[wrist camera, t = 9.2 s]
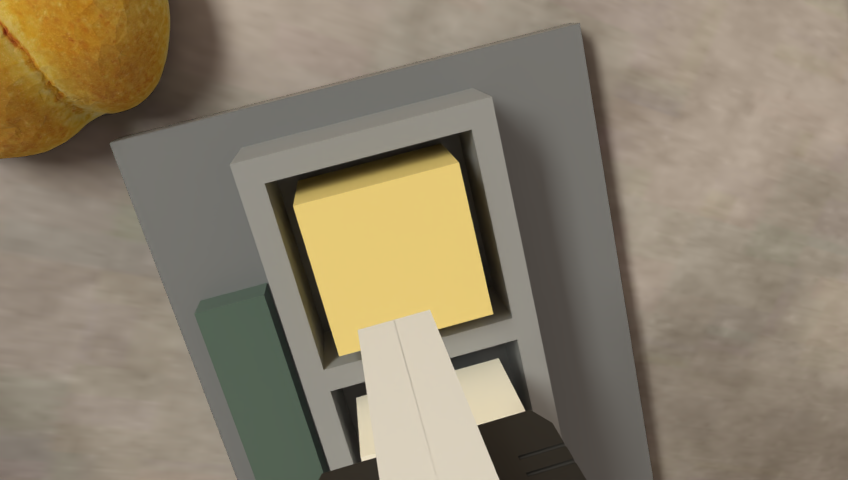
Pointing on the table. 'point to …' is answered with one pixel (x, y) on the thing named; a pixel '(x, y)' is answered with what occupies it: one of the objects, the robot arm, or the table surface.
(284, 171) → the grey compartment tray
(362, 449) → the key ivory
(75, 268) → the table surface
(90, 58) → the bread roll
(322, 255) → the key mustard
